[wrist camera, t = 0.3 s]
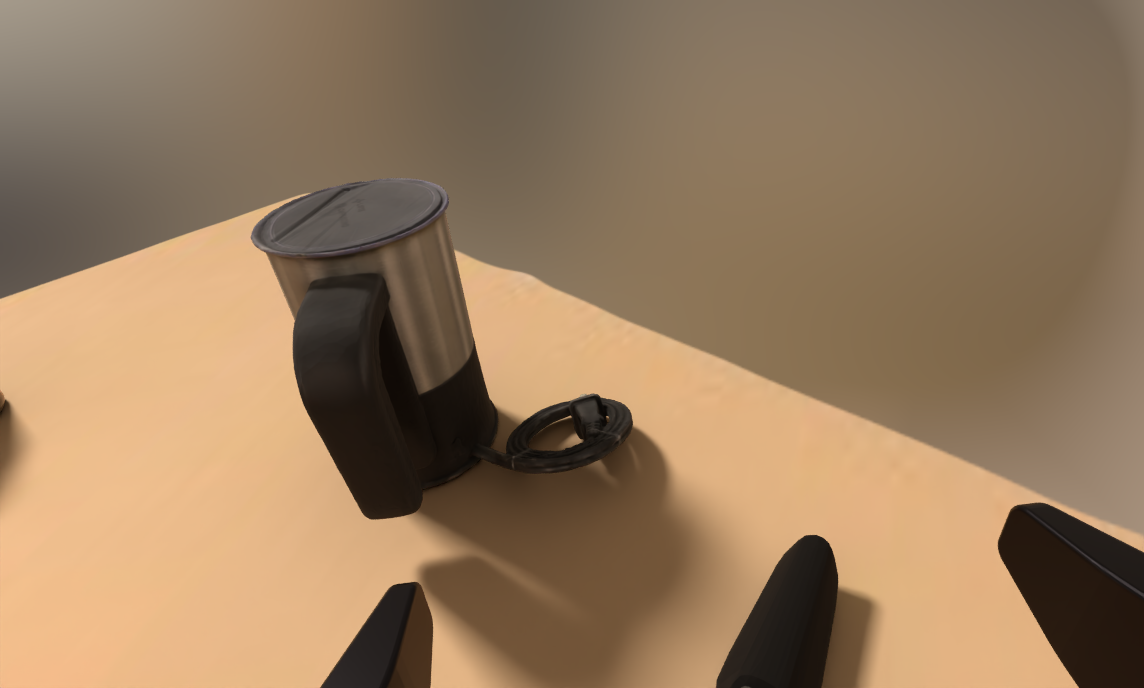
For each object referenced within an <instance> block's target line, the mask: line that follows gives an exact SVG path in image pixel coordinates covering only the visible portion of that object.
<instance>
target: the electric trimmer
mask: <svg viewBox="0 0 1144 688" xmlns="http://www.w3.org/2000/svg"><path fill="white" fill-rule="evenodd" d="M837 589H838V573H837V568H836V562H835V558H834V554H833V551H832V549H831V547H830V545H829V543H828V542H827V541H826V540H825V539H824V538H822V537H820V536H817V535H806V536H804V537H803V538H801V539H800V540H798V541H797V542H796V543H795V544H794V545H793V546H792V547H791V548H790V549H789V550H788V551H787V552H786V553H785V554H784V555H783V557H782V558H781V560H780V561H779V562H778V564H777V565H776V567H775V569H774V571H773V573H772V575H771V576H770V578H769V580H768V582H767V584H766V586H765V588H764V589H763V591H762V593H761V595H760V597H759V599H758V600H757V602H756V604H755V606H754V608H753V610H752V612H751V613H750V615H749V617H748V619H747V621H746V623H745V624H744V626H743V628H742V630H741V632H740V634H739V636H738V637H737V639H736V641H735V643H734V645H733V647H732V648H731V650H730V652H729V654H728V656H727V659H726V661H725V663H724V665H723V667H722V670H721V672H720V674H719V676H718V679H717V684H716V688H741V687H742V688H821V686H822V681H823V675H824V669H825V664H826V658H827V652H828V647H829V641H830V635H831V630H832V624H833V618H834V613H835V607H836V599H837Z"/></svg>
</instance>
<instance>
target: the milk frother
mask: <svg viewBox="0 0 1144 688" xmlns="http://www.w3.org/2000/svg"><path fill="white" fill-rule="evenodd" d="M448 200H449V199H448V195H447V193H446V191H445V190H444V189H443V188H441V186H438V185H436V184H434V183H431V182H427V181H423V180H417V179H407V178H406V179H401V178H398V179H394V178H390V179H379V180H373V181H367V182H356V183H347V184H344V185H341V186H336V187H331V188H327V189H323V190H321V191H317V192H314V193H311V194H308V195H306V196H303V197H300V198H298V199H295V200H292V201H291V202H289V203H286V204H284V205H283V206H281V207H279V208H278V209H275V210H273V211H272V212H270V213H269V214H268V215H266V216H265V217H264V218H263V219H262V220H260V221H259V222H258V223H257V224H256V226H255V227H254V229H253V231H252V235H251V240H252V241H253V244H254V245H255V246H256V247H257V248H259V249H260V250H262V251H264V252H265V253H266V254H267V256H268V259H269V261H270V263H271V266H272V268H273V270H274V272H275V275H276V277H277V279H278V282H279V284H280V286H281V289H282V291H283V293H284V296H285V298H286V301H287V303H288V305H289V308H290V310H291V312H292V315H293V317H294V320H295V323H294V330H293V361H294V370H295V375H296V380H297V384H298V388H299V392H300V395H301V398H302V401H303V404H304V406H305V409H306V411H307V413H308V415H309V417H310V418H311V420H312V422H313V424H314V426H315V428H316V429H317V431H318V433H319V435H320V436H321V438H322V440H323V442H324V443H325V445H326V447H327V449H328V451H329V453H330V455H331V457H332V459H333V460H334V462H335V464H336V466H337V468H338V470H339V472H340V473H341V475H342V477H343V478H344V480H345V482H346V484H347V486H348V488H349V490H350V491H351V493H352V495H353V497H354V499H355V500H356V502H357V504H358V506H359V508H360V509H361V511H362V513H363V514H364V516H366V517H367V518H369V519H386V518H394V517H401V516H405V515H409V514H412V513H414V512H416V511H417V510H418V509H419V507H420V505H421V502H422V489H424V488H429V487H432V486H436V485H439V484H441V483H444V482H447V481H449V480H451V479H453V478H455V477H457V476H459V475H461V474H462V473H463V472H464V471H466V470H468V469H470V468H471V467H472V466H473V465H475V464H476V463H477V462H478V461H479V460H480V459H483V460H486V461H488V462H490V463H493V464H496V465H499V466H501V467H504V468H507V469H511V470H515V471H519V472H523V473H530V474H541V473H557V472H563V471H568V470H572V469H576V468H579V467H583V466H586V465H588V464H590V463H593V462H595V461H597V460H599V459H601V458H603V457H605V456H606V455H608V454H609V453H611V452H612V451H614V450H615V449H616V448H617V447H618V446H620V445H621V444H622V443H623V442H624V441H625V439H626V438H627V437H628V435H629V434H630V432H631V430H632V426H633V421H632V415H631V412H630V410H629V409H628V408H627V407H626V406H625V405H624V404H622V403H621V402H617V401H615V400H611V399H605V398H600V396H599V395H597V394H590V395H586V394H582V395H580V397H579V398H577V399H574V400H572V401H568V402H563V403H559V404H556V405H553V406H550V407H547V408H545V409H542V410H540V411H538V412H537V413H535V414H534V415H532V416H531V417H530V418H528V419H527V420H525V421H524V422H522V424H521V425H519V426H518V427H517V428H516V429H515V430H514V431H513V432H512V434H511V435H510V437H509V439H508V441H507V445H506V451H507V453H506V454H504V453H501V452H499V451H496V450H493V449H491V448H490V446H491V445H492V443H493V441H494V439H495V437H496V433H497V429H498V414H497V411H496V409H495V407H494V404H493V403H492V401H491V400H490V399H489V396H488V392H487V389H486V385H485V382H484V378H483V374H482V370H481V366H480V362H479V359H478V355H477V351H476V346H475V341H474V338H473V333H472V329H471V324H470V320H469V315H468V311H467V306H466V302H465V297H464V293H463V288H462V284H461V280H460V275H459V271H458V266H457V262H456V257H455V253H454V248H453V244H452V239H451V235H450V231H449V226H448V222H447V218H446V213H445V210H446V209H447V207H448V204H449V201H448ZM568 416H572V420H573V423H574V428H575V431H576V433H577V435H578V437H579V438H580V439H582V440H584V442H583V443H580V444H578V445H575V446H573V447H571V448H566V449H565V450H561V451H539V450H532V449H531V448H528V444H529V442H530V441H531V439H532V438H533V437H534V436H535V435H536V434H537V433H538V432H539V431H541V430H542V429H544V428H545V427H547V426H548V425H550V424H552V423H553V422H556V421H558V420H560V419H563V418H565V417H568ZM606 416H609V419H610V421H609V423H608V424H607V420H606Z"/></svg>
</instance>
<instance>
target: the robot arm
mask: <svg viewBox="0 0 1144 688" xmlns="http://www.w3.org/2000/svg"><path fill="white" fill-rule="evenodd" d="M998 550H999V554H1000V557H1001V559H1002V561H1003V562H1004V564H1005V566H1006V568H1007V569H1008V571H1009V573H1010V575H1011V576H1012V578H1013V580H1014V582H1015V583H1016V585H1017V587H1018V589H1019V590H1020V592H1021V594H1022V596H1023V597H1024V599H1025V601H1026V603H1027V604H1028V606H1029V608H1030V610H1031V611H1032V613H1033V615H1034V617H1035V618H1036V620H1037V622H1038V624H1039V625H1040V627H1041V629H1042V631H1043V632H1044V634H1045V636H1046V638H1047V639H1048V641H1049V643H1050V644H1051V646H1052V648H1053V649H1054V651H1055V653H1056V654H1057V656H1058V657H1059V659H1060V660H1061V662H1062V663H1063V665H1064V666H1065V668H1066V669H1067V671H1068V672H1069V674H1070V675H1071V677H1072V678H1073V680H1074V681H1075V683H1076V684H1077V685H1078V687H1079V688H1144V552H1142V551H1140V550H1138V549H1136V548H1134V547H1132V546H1130V545H1128V544H1126V543H1124V542H1122V541H1120V540H1118V539H1116V538H1114V537H1112V536H1110V535H1108V534H1106V533H1104V532H1102V531H1100V530H1098V529H1096V528H1094V527H1092V526H1090V525H1088V524H1086V523H1084V522H1082V521H1080V520H1078V519H1077V518H1075V517H1073V516H1071V515H1069V514H1067V513H1065V512H1063V511H1061V510H1059V509H1057V508H1055V507H1053V506H1050V505H1048V504H1045V503H1030V504H1022V505H1017V506H1014V507H1013V508H1012V509H1011V510H1010V512H1009V514H1008V517H1007V519H1006V522H1005V525H1004V527H1003V530H1002V532H1001V535H1000V537H999V540H998ZM432 644H433V620H432V615H431V612H430V609H429V606H428V604H427V601H426V598H425V595H424V592H423V589H422V587H421V585H420V584H419V583H417V582H410V583H402V584H396V585H393V586H391V587H390V588H389V589H388V590H387V592H386V593H385V595H384V596H383V597H382V599H381V600H380V602H379V603H378V605H377V606H376V608H375V609H374V610H373V612H372V613H371V615H370V616H369V618H368V619H367V621H366V622H365V623H364V625H363V626H362V628H361V629H360V631H359V632H358V634H357V635H356V637H355V638H354V639H353V641H352V642H351V644H350V645H349V647H348V648H347V650H346V651H345V652H344V654H343V655H342V657H341V658H340V660H339V661H338V663H337V664H336V665H335V667H334V668H333V670H332V671H331V673H330V674H329V676H328V677H327V679H326V680H325V681H324V683H323V684H322V686H321V687H320V688H430V686H431V665H432Z"/></svg>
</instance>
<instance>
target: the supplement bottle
mask: <svg viewBox="0 0 1144 688" xmlns="http://www.w3.org/2000/svg"><path fill="white" fill-rule="evenodd" d="M4 402H5V398H4V395H3V393H2V392H1V390H0V412H1V411H2V409H3V406H4Z"/></svg>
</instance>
